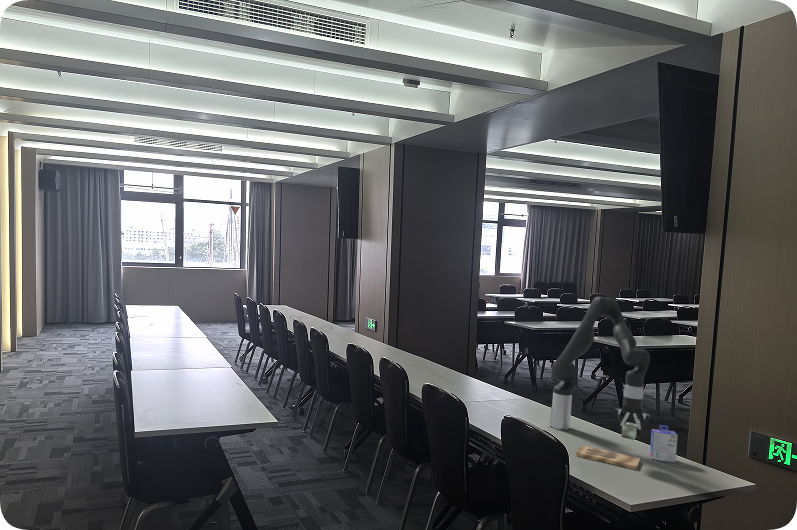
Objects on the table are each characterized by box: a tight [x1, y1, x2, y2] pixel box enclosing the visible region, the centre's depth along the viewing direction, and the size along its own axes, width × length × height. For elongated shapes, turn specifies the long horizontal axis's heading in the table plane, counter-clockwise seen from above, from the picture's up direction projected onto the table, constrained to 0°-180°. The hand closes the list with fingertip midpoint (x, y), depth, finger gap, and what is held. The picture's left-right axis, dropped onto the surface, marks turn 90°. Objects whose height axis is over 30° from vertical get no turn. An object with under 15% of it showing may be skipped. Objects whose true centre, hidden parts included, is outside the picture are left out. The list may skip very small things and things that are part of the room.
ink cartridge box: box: [649, 424, 679, 463], centre depth 241 cm, size 10×6×14 cm, turn 78°
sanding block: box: [621, 421, 638, 441], centre depth 232 cm, size 5×9×4 cm, turn 145°
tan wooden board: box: [575, 445, 641, 471], centre depth 236 cm, size 24×12×2 cm, turn 60°
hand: (630, 435), depth 232 cm, fingers closed on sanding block, 5 cm apart
